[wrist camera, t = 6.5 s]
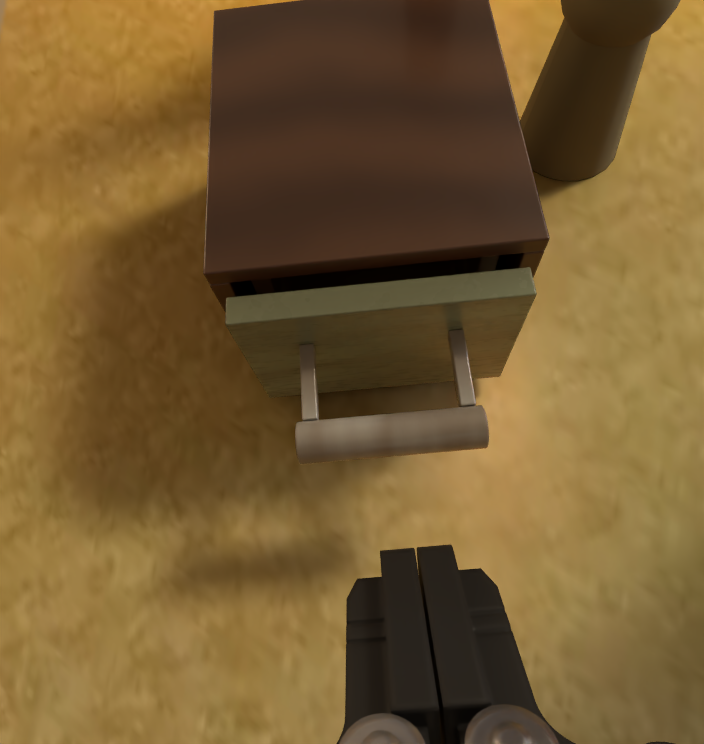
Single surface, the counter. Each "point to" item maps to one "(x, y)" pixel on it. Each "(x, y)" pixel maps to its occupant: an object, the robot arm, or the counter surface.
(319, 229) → the cabinet
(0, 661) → the counter surface
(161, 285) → the counter surface
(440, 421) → the drawer
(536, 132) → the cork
